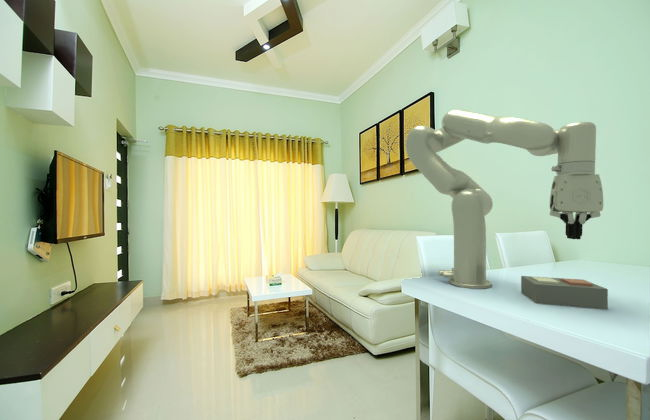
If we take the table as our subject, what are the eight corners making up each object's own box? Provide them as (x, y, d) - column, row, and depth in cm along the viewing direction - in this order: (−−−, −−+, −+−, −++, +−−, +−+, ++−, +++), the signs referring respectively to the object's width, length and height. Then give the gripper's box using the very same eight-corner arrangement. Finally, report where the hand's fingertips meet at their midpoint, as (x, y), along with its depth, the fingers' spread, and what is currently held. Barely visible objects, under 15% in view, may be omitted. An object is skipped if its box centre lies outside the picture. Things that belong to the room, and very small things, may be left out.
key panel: (535, 303, 73) (535, 284, 73) (521, 292, 82) (521, 275, 82) (607, 309, 69) (607, 289, 69) (583, 297, 78) (583, 279, 78)
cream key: (538, 292, 75) (538, 280, 75) (531, 288, 79) (531, 276, 79) (559, 294, 74) (559, 281, 74) (551, 289, 78) (551, 278, 78)
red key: (570, 294, 73) (570, 282, 73) (561, 289, 77) (561, 278, 77) (592, 296, 72) (592, 283, 72) (581, 291, 76) (581, 279, 76)
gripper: (549, 169, 73) (547, 238, 73) (621, 167, 69) (618, 241, 69) (536, 172, 80) (534, 236, 81) (601, 171, 76) (599, 238, 76)
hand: (573, 238), depth 75 cm, fingers closed
